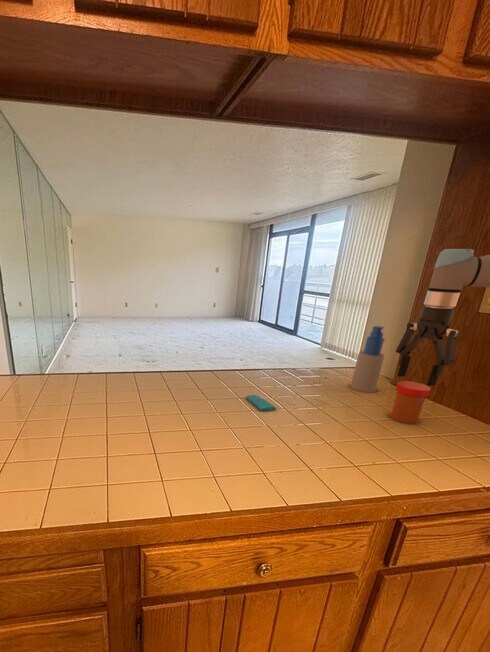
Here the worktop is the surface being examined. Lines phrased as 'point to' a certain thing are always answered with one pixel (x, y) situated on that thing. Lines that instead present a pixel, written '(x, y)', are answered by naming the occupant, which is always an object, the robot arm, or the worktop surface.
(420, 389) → the lid
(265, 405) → the sponge
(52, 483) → the worktop surface
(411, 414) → the jar
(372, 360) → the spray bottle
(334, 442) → the worktop surface
